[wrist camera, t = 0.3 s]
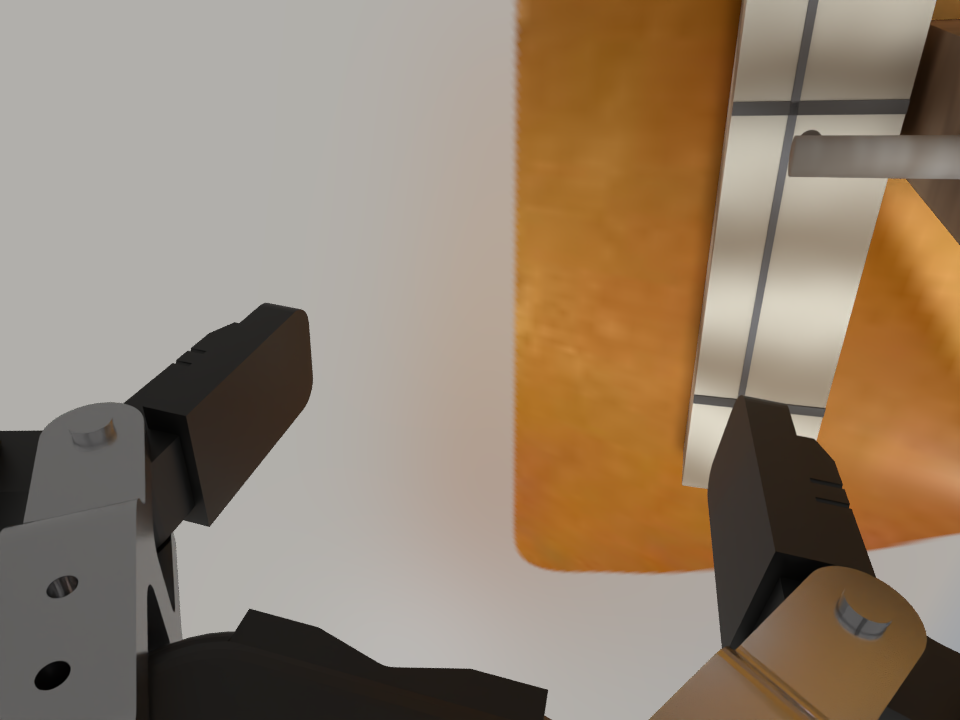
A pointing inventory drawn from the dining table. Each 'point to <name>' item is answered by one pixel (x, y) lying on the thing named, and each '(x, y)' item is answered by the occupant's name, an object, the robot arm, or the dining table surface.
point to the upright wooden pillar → (905, 136)
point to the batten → (794, 206)
